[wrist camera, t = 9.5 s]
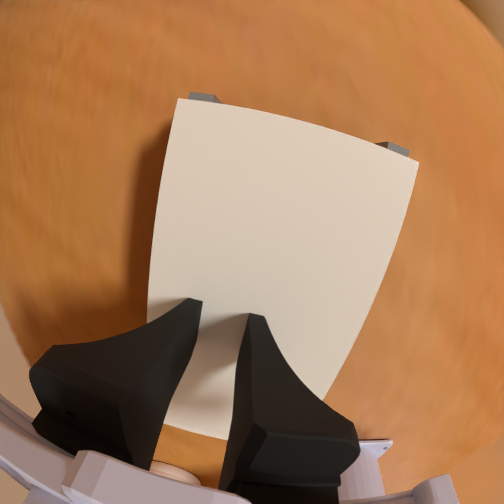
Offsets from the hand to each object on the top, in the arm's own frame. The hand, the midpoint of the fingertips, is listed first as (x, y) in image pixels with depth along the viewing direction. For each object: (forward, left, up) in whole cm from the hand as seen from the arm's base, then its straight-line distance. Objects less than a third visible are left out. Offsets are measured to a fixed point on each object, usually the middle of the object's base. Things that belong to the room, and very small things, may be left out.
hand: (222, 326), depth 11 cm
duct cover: (0, -1, -1) cm, 1 cm away
